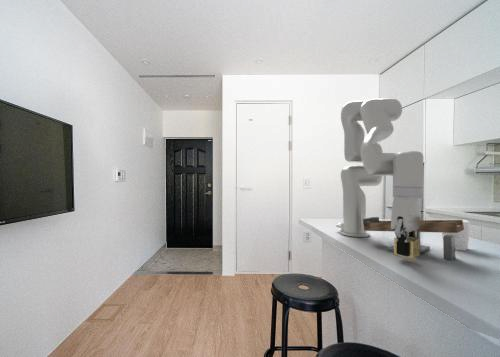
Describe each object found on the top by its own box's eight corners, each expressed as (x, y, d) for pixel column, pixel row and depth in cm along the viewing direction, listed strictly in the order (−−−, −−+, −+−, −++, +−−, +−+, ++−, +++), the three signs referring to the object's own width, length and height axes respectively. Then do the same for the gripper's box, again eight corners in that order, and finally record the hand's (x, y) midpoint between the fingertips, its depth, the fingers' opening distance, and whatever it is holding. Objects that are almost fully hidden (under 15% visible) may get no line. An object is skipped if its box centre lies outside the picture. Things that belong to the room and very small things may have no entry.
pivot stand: (388, 251, 81) (388, 227, 81) (404, 244, 90) (404, 223, 90) (415, 256, 75) (414, 231, 75) (429, 249, 83) (429, 226, 84)
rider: (394, 254, 71) (394, 238, 71) (400, 251, 74) (400, 235, 74) (413, 259, 67) (413, 241, 67) (419, 255, 70) (419, 238, 70)
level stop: (443, 258, 73) (443, 236, 73) (447, 256, 76) (446, 234, 76) (451, 260, 72) (451, 237, 72) (455, 257, 74) (454, 235, 74)
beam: (364, 232, 91) (362, 219, 92) (374, 230, 96) (372, 217, 96) (458, 235, 69) (454, 217, 70) (464, 231, 74) (461, 215, 74)
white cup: (446, 243, 91) (445, 218, 91) (473, 248, 84) (472, 220, 85) (438, 246, 87) (437, 219, 87) (466, 252, 80) (465, 222, 80)
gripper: (404, 190, 78) (403, 244, 79) (381, 193, 68) (380, 255, 68) (431, 192, 72) (431, 250, 73) (411, 195, 62) (410, 263, 62)
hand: (406, 252), depth 70 cm, fingers closed on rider, 5 cm apart
